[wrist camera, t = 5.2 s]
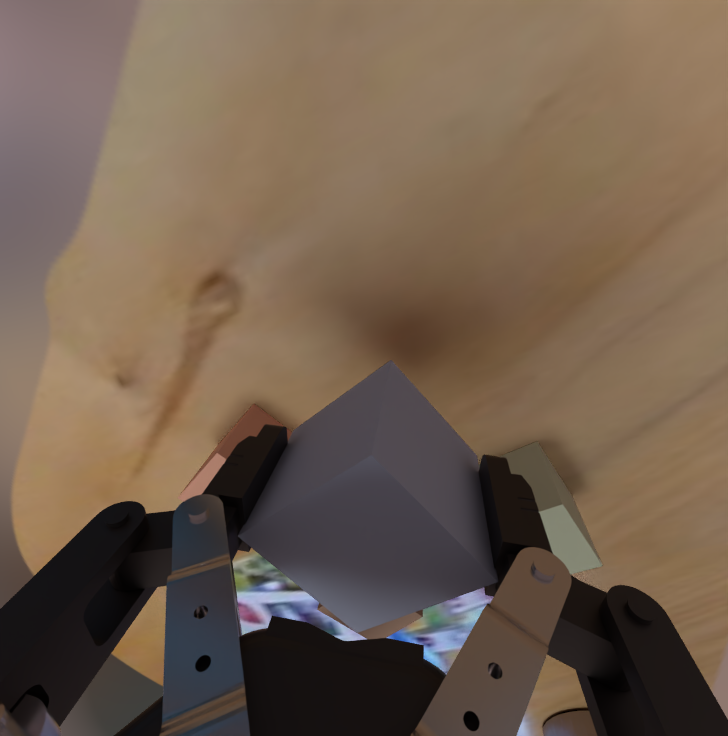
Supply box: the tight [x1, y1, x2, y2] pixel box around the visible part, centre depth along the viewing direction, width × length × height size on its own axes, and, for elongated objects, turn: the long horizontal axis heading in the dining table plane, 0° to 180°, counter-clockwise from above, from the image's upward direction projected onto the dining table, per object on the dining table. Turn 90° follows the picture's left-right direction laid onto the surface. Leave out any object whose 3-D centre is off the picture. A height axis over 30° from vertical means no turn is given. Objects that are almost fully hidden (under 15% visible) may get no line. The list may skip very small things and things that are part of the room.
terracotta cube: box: [178, 404, 292, 502], centre depth 24 cm, size 5×5×5 cm
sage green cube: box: [479, 441, 603, 574], centre depth 22 cm, size 5×5×5 cm
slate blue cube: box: [238, 360, 498, 633], centre depth 12 cm, size 5×5×5 cm
